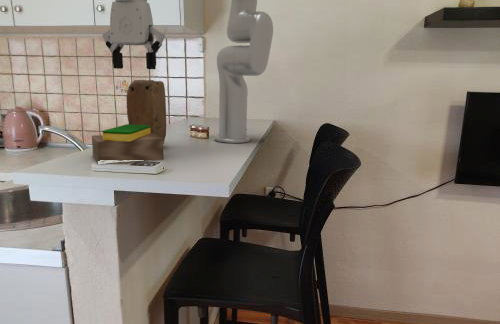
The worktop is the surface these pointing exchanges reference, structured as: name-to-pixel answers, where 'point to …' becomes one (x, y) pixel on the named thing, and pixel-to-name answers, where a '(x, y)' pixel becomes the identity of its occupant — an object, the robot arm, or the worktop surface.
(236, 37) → the robot arm
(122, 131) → the dish sponge
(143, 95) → the block
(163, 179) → the worktop surface
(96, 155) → the walnut block
